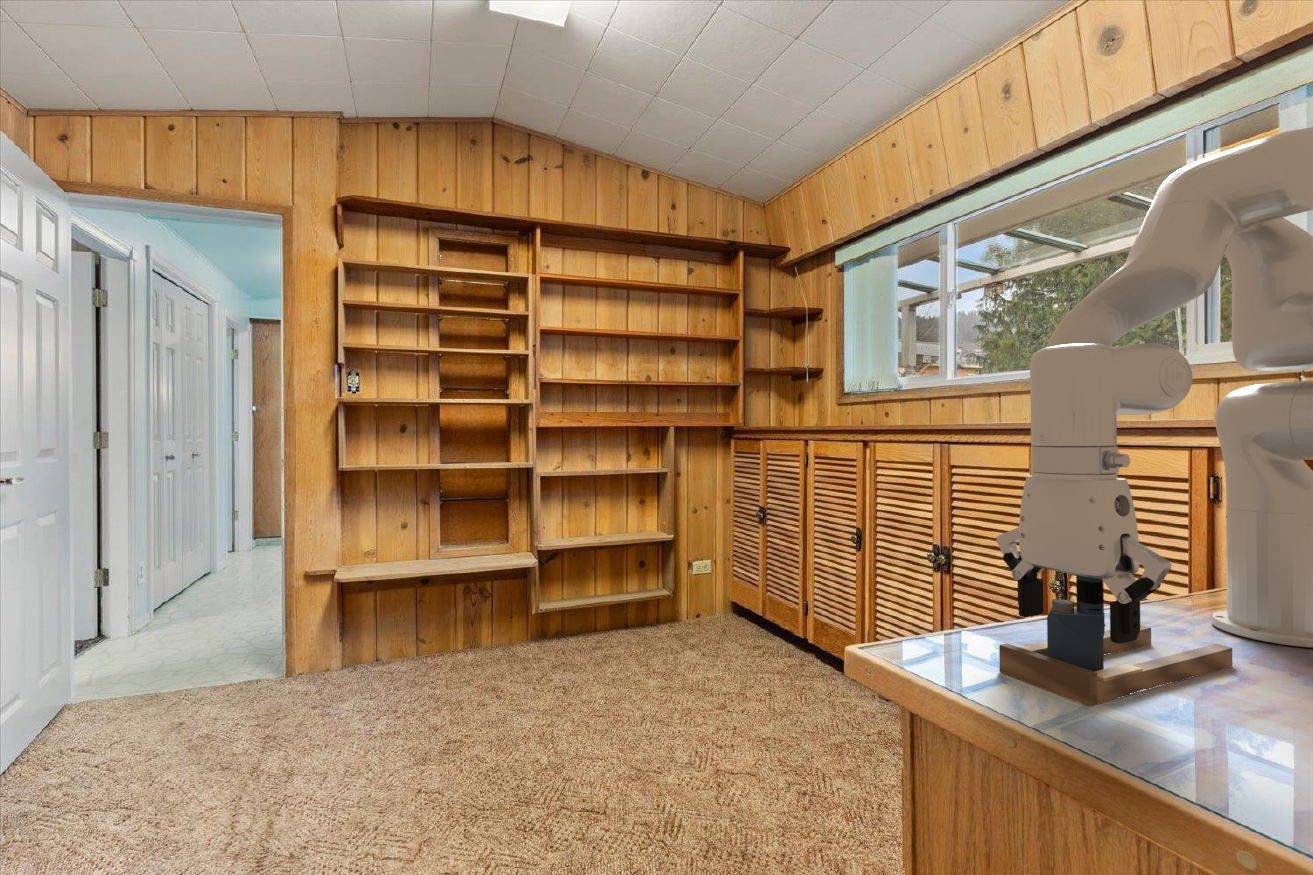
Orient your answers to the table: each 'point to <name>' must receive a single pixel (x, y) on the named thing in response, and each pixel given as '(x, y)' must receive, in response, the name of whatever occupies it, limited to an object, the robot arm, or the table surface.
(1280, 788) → the table surface
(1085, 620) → the vaping device
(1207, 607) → the table surface
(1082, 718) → the table surface
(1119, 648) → the rail channel
